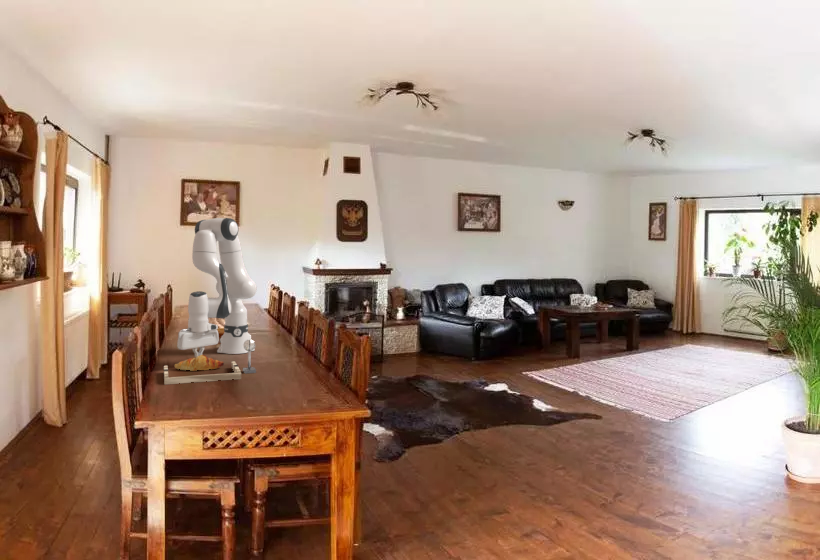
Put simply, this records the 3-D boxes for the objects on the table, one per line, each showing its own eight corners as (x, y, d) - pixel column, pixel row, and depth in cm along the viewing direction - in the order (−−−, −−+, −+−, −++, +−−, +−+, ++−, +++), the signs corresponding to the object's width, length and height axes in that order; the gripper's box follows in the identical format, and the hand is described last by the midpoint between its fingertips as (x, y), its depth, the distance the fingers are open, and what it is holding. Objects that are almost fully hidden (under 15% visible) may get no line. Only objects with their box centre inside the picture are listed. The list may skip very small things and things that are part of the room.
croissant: (173, 379, 257) (171, 365, 253) (176, 364, 265) (174, 350, 261) (223, 376, 262) (222, 362, 258) (224, 361, 270) (223, 348, 266)
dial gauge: (242, 371, 260) (242, 339, 259) (254, 370, 262) (254, 338, 261) (244, 373, 255) (244, 341, 254) (255, 372, 257) (256, 340, 256)
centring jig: (163, 372, 254) (163, 364, 253) (235, 367, 266) (235, 360, 265) (164, 384, 233) (164, 376, 233) (241, 378, 245) (241, 370, 245)
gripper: (182, 330, 257) (183, 361, 258) (220, 325, 274) (220, 354, 275) (174, 328, 260) (174, 359, 261) (212, 324, 277) (212, 352, 278)
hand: (198, 356), depth 268 cm, fingers closed
